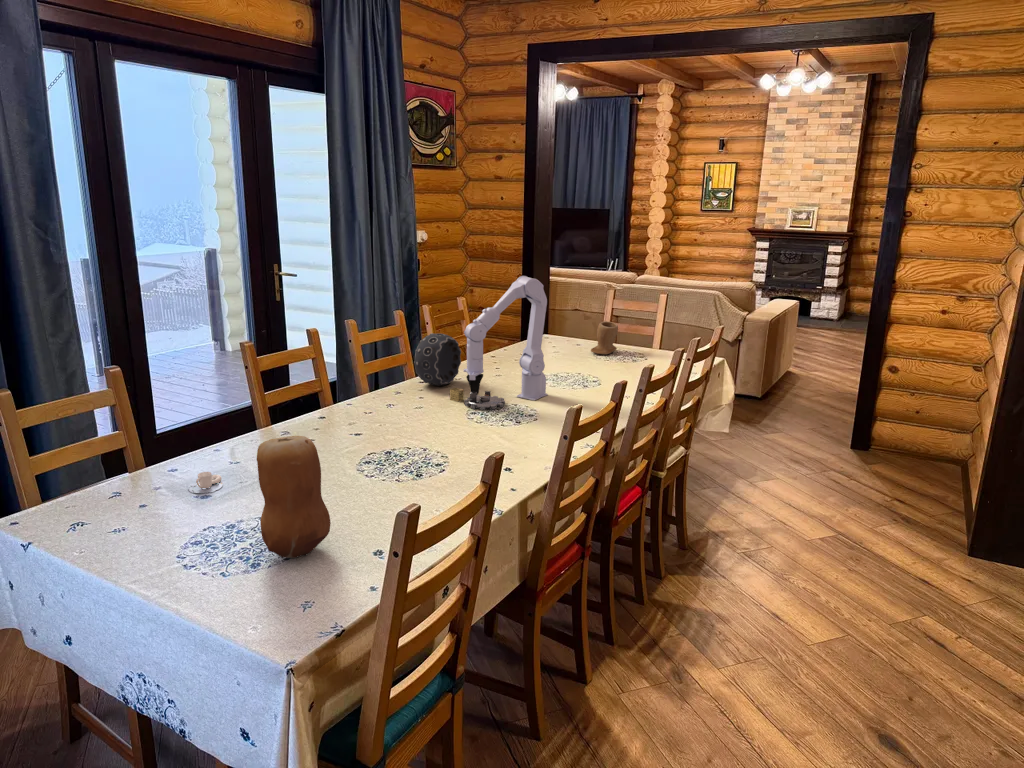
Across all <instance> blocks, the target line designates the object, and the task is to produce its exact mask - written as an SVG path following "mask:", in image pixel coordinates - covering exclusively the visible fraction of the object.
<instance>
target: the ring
mask: <svg viewBox="0 0 1024 768" xmlns="http://www.w3.org/2000/svg"><path fill="white" fill-rule="evenodd" d="M461 354H462V349H461V348H460V346H459V342H458V341H457V340H456V339H455V338H454V337H452V336H451V335H448V334H444V333H430V334H429V335H426V336H424V337H423V338H422V339H421V340H419V343H418V345H417V347H416V349H415V354H414V361H413V364H414V368H415V369H414V370H415V374H417V376H418V378H419V379H420V380H422V381H423V383H425V384H429V385H432V386H446V385H449V384H450V383H452V382H453V381H454V379H455V378H456V377H457V376H458V375H459V372H460V371H459V369H460V366H461V364H462V360H461Z"/></svg>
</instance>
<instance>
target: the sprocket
mask: <svg viewBox="0 0 1024 768" xmlns="http://www.w3.org/2000/svg"><path fill="white" fill-rule="evenodd" d="M463 401H464V403H463V404H464V406H465V407H470V409H473V410H475V409H480V410H482V411H485V410H489V409H490V410H496V409H497V408H500V409H501V408H503V407H504V406H506V400H505V398H504V397H499V396H498V395H491V396H489V395H485V394H484V395H480V394H478V395H477V392H475V391H472V392H471V391H470V392H469V396H468V397H467V398H464V400H463Z"/></svg>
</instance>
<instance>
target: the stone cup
mask: <svg viewBox="0 0 1024 768" xmlns="http://www.w3.org/2000/svg"><path fill="white" fill-rule="evenodd" d="M618 330H619V326H618V324H616V323H615V322H612V321H606V320H605V321H601V322H599V324H598V326H597V330H596V338H597V345H596V346H593V347H592V348H591V349H590V352H591V353H593V354H598V355H609V354H611V353H613V352H615V351H616V350H617V349H618V347H616V346H615V345H614V342H615V339H616V338H617V336H618V332H619V331H618Z"/></svg>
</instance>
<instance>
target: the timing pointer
mask: <svg viewBox="0 0 1024 768" xmlns="http://www.w3.org/2000/svg"><path fill="white" fill-rule="evenodd" d="M491 394H492V393H491V390H485V391H484V395H489V396H492V395H491Z"/></svg>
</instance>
